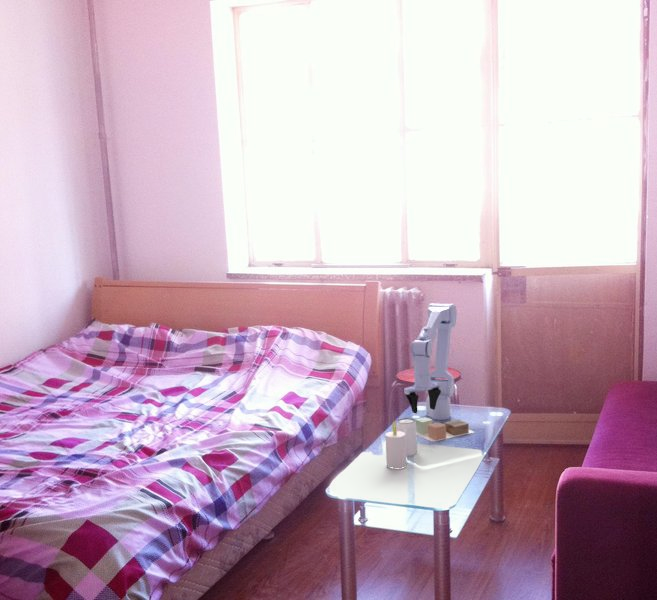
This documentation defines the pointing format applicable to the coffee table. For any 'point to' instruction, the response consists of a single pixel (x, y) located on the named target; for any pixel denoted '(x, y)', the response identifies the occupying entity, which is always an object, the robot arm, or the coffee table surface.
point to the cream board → (443, 438)
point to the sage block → (423, 425)
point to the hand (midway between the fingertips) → (423, 410)
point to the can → (408, 434)
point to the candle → (395, 448)
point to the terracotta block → (437, 431)
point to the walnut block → (457, 427)
